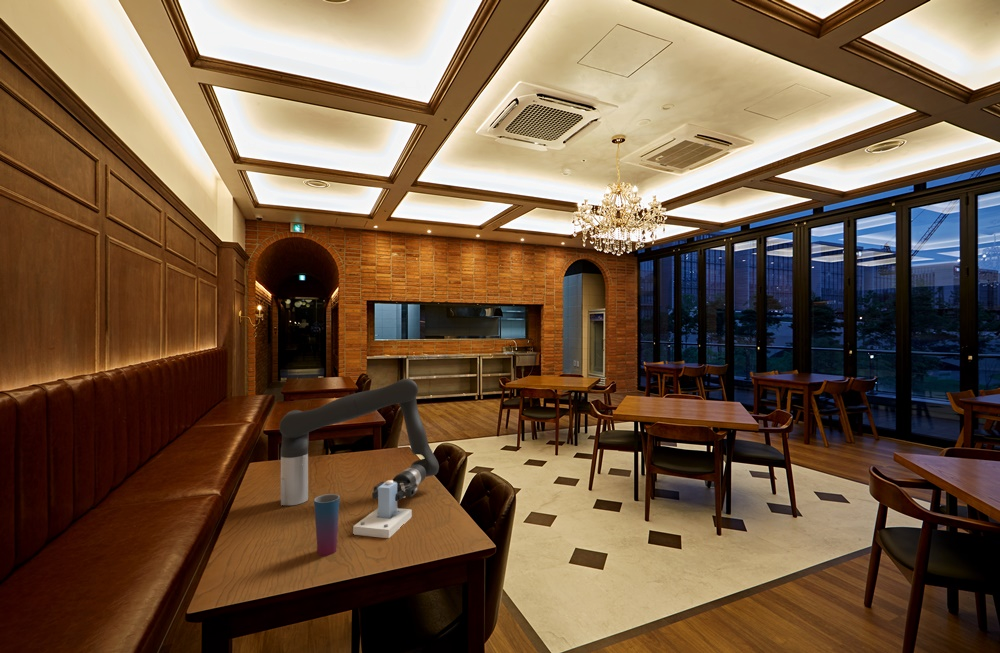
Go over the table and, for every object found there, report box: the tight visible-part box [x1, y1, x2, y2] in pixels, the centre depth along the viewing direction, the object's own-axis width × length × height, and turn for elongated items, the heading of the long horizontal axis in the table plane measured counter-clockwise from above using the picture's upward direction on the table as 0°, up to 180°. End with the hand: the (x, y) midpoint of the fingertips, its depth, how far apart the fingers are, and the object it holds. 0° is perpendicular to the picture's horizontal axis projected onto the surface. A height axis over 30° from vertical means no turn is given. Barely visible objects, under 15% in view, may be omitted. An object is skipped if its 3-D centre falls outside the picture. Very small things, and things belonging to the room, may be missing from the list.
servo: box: [377, 479, 399, 519], centre depth 147 cm, size 6×7×13 cm
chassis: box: [352, 507, 413, 539], centre depth 144 cm, size 16×12×3 cm
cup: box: [313, 493, 340, 556], centre depth 127 cm, size 7×7×15 cm
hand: (384, 497), depth 145 cm, fingers open, 7 cm apart
